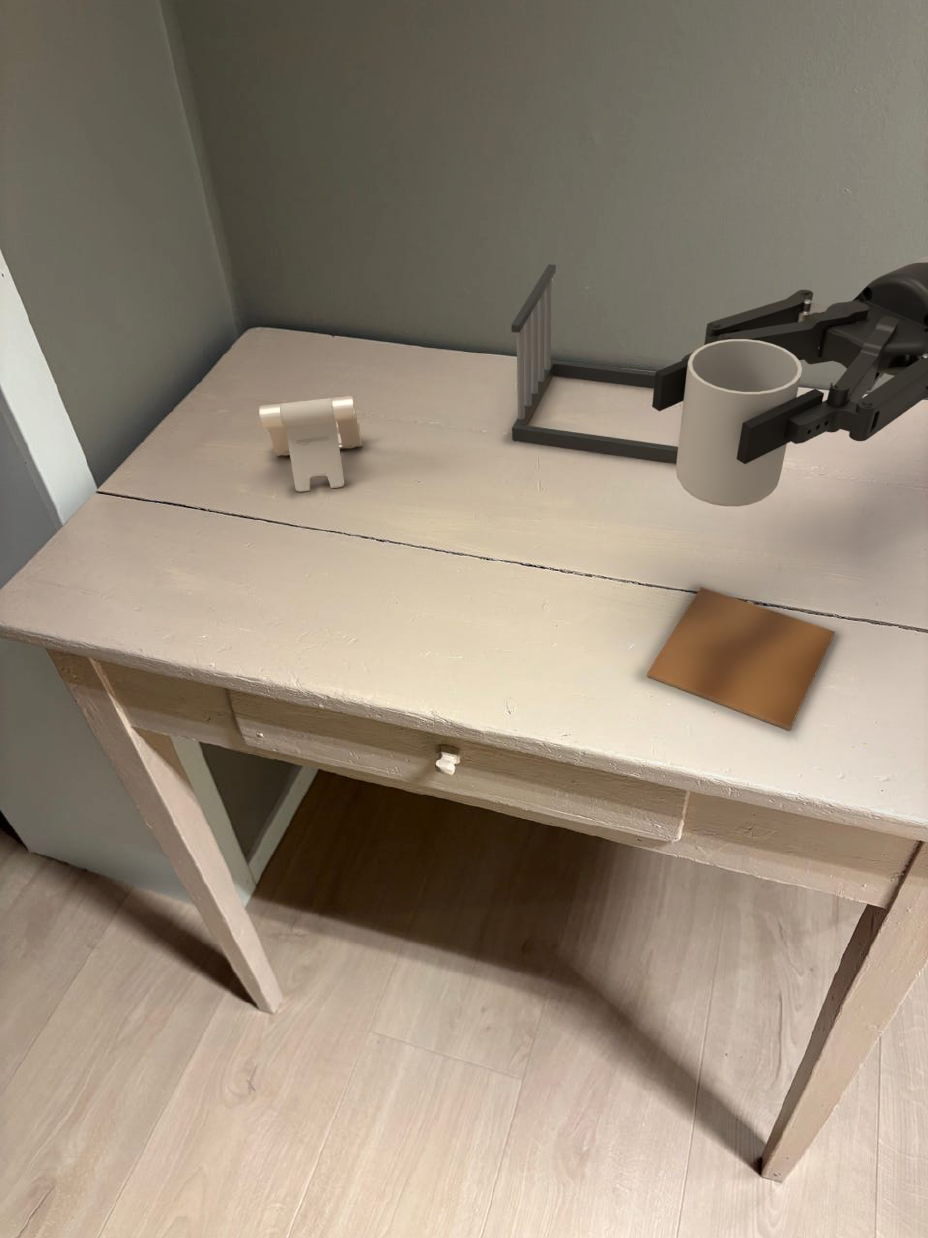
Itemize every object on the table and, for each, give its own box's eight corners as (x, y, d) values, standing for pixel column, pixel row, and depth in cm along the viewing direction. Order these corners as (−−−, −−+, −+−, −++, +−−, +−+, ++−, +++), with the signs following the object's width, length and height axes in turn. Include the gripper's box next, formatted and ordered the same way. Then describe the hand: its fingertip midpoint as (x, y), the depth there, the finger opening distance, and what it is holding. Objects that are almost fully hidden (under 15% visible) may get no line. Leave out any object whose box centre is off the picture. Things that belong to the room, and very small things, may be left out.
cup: (660, 494, 68) (672, 380, 61) (704, 423, 74) (719, 314, 68) (763, 519, 65) (786, 403, 59) (799, 443, 71) (823, 331, 65)
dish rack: (712, 391, 101) (729, 278, 93) (691, 466, 92) (707, 348, 83) (548, 371, 106) (549, 261, 98) (512, 440, 97) (509, 326, 88)
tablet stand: (361, 439, 98) (350, 366, 92) (365, 484, 93) (353, 409, 87) (277, 449, 98) (261, 376, 92) (275, 495, 92) (258, 420, 86)
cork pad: (833, 634, 75) (835, 631, 75) (789, 730, 69) (790, 727, 68) (700, 590, 80) (700, 586, 79) (646, 676, 73) (647, 672, 73)
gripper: (1033, 413, 68) (807, 539, 59) (810, 311, 80) (597, 402, 72) (1075, 313, 62) (833, 435, 54) (829, 220, 75) (602, 307, 66)
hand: (699, 416), depth 63 cm, fingers closed on cup, 7 cm apart
